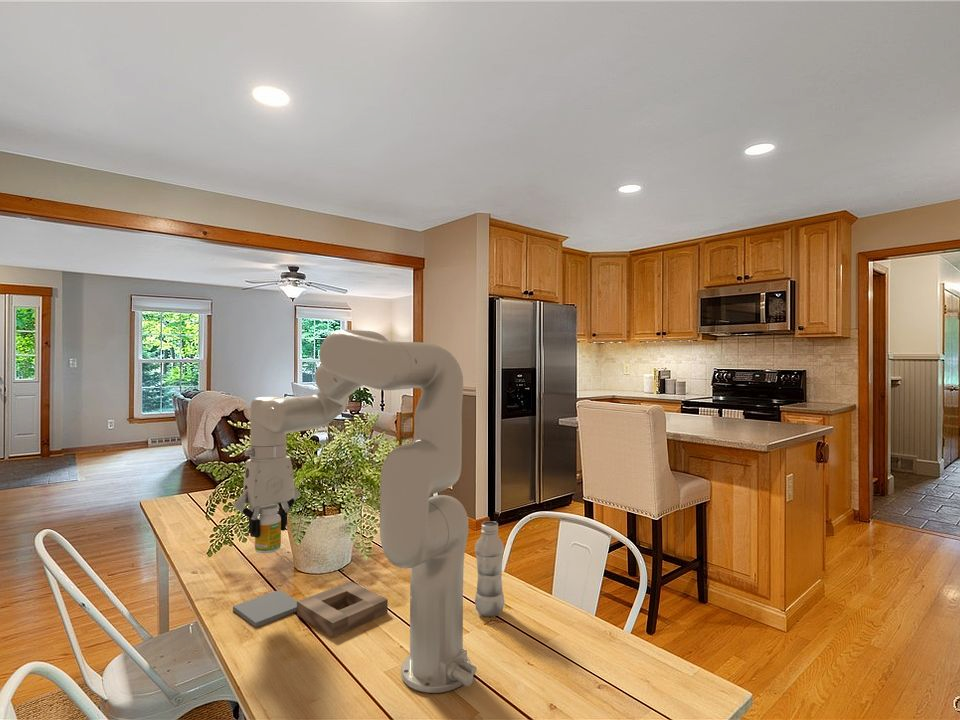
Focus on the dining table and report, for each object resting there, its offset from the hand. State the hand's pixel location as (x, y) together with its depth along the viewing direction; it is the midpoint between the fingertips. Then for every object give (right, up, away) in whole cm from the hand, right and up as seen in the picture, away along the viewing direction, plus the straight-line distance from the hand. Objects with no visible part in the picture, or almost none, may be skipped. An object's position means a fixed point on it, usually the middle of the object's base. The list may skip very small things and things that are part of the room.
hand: (268, 531), depth 118 cm
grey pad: (0, -17, 0) cm, 17 cm away
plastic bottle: (+50, -18, -1) cm, 53 cm away
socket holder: (+17, -18, -2) cm, 25 cm away
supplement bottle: (0, -4, 0) cm, 4 cm away
